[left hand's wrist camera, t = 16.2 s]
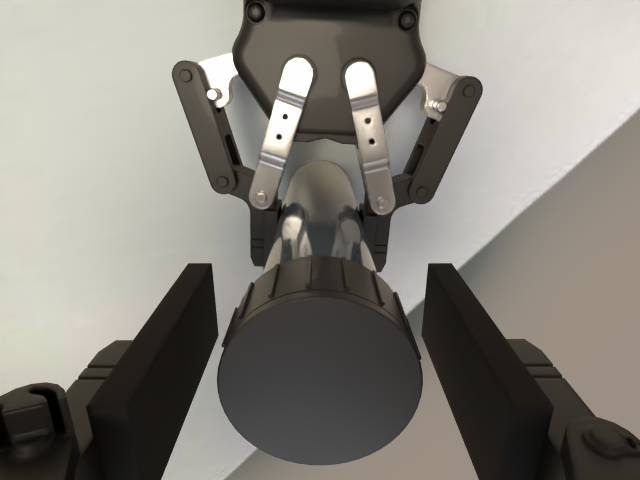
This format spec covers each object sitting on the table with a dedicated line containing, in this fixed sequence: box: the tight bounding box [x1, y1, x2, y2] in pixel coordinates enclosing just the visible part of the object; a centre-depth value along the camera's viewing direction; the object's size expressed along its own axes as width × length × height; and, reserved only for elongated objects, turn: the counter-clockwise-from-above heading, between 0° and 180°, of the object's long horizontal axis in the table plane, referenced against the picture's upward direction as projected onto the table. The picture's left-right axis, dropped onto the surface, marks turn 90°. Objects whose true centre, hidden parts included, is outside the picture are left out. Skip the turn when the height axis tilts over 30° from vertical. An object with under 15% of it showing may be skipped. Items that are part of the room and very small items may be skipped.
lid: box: [217, 255, 423, 465], centre depth 11 cm, size 5×5×2 cm
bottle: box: [262, 160, 377, 275], centre depth 20 cm, size 4×4×18 cm
